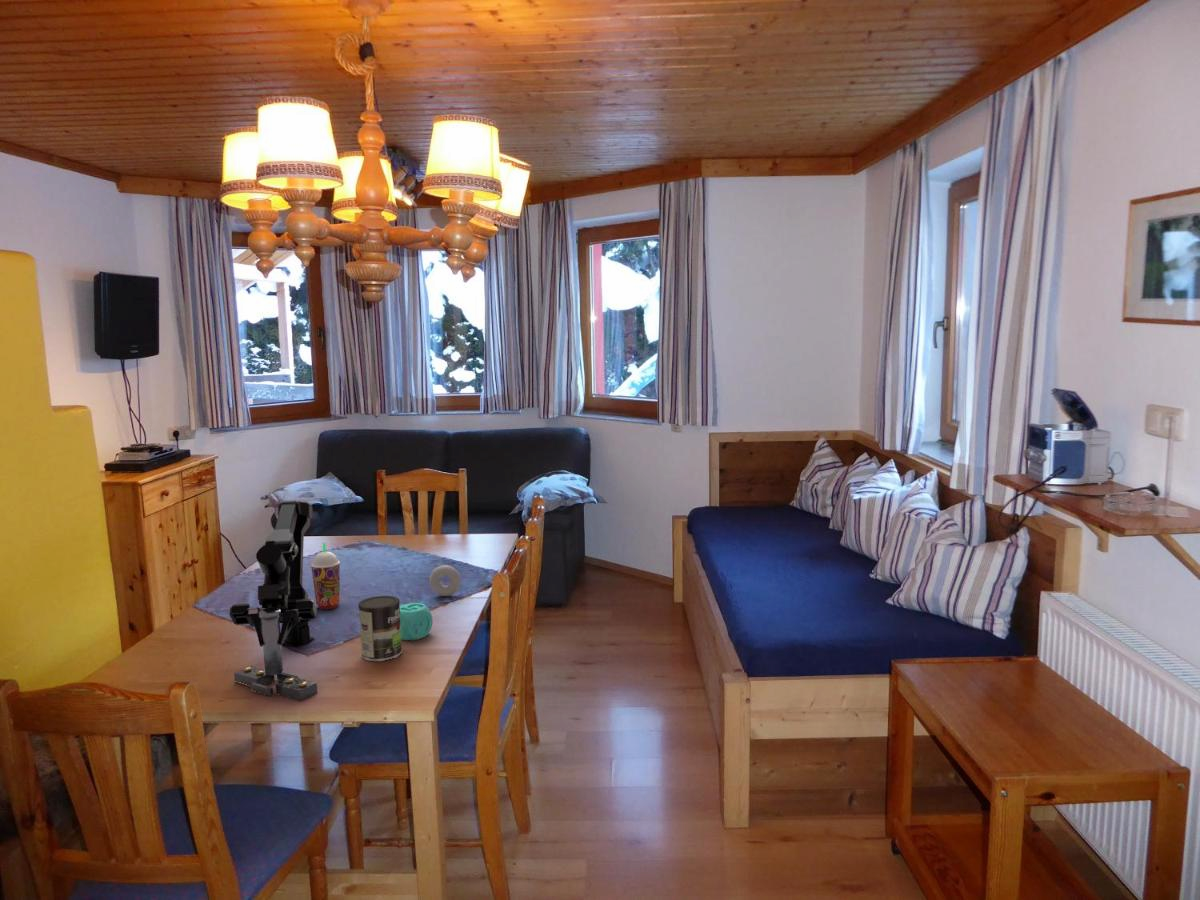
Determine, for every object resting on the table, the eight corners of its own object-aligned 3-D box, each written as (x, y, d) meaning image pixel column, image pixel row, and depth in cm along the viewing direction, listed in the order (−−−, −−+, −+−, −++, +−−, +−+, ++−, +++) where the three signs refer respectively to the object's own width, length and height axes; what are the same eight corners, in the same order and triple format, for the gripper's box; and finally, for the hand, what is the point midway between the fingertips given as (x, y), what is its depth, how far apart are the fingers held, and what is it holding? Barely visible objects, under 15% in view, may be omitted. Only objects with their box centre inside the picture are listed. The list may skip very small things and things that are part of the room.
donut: (463, 594, 266) (461, 564, 265) (459, 598, 263) (458, 567, 261) (432, 594, 267) (430, 563, 266) (428, 597, 264) (427, 566, 262)
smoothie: (326, 612, 251) (322, 547, 248) (307, 608, 256) (303, 544, 253) (348, 604, 258) (344, 541, 255) (329, 600, 263) (325, 538, 260)
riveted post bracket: (229, 684, 201) (228, 672, 201) (257, 672, 208) (256, 660, 208) (294, 703, 190) (293, 691, 190) (322, 690, 197) (321, 677, 197)
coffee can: (409, 647, 222) (406, 596, 220) (391, 663, 212) (388, 609, 210) (372, 645, 224) (369, 594, 222) (354, 660, 214) (350, 607, 212)
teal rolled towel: (392, 636, 231) (390, 608, 230) (416, 628, 237) (415, 600, 236) (409, 643, 226) (407, 614, 225) (433, 634, 232) (432, 606, 231)
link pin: (260, 671, 199) (256, 610, 197) (281, 665, 202) (277, 606, 200) (266, 677, 195) (261, 616, 193) (287, 672, 198) (283, 611, 196)
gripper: (227, 571, 197) (219, 633, 188) (311, 566, 201) (307, 627, 192) (238, 593, 206) (231, 654, 197) (318, 588, 209) (314, 647, 200)
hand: (270, 645), depth 196 cm, fingers closed on link pin, 4 cm apart
